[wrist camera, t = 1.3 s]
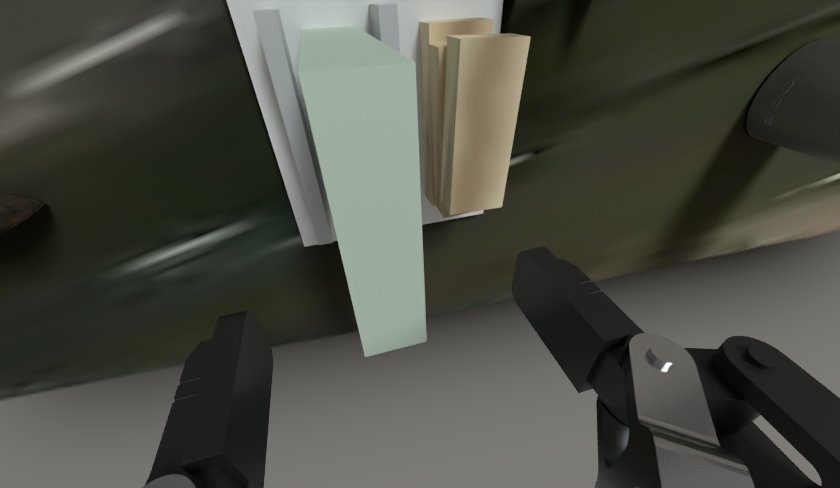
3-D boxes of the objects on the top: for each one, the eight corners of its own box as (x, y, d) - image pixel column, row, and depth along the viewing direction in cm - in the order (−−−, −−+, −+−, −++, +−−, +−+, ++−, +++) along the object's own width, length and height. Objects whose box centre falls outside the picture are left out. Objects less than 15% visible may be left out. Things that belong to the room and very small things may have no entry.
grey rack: (499, -45, 20) (534, -52, 17) (478, 208, 31) (497, 231, 28) (218, -37, 17) (199, -44, 14) (304, 240, 28) (304, 269, 25)
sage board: (354, 25, 19) (415, 62, 9) (377, 202, 27) (426, 341, 16) (301, 29, 19) (298, 73, 8) (340, 208, 26) (365, 357, 15)
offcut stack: (482, 17, 21) (532, 23, 16) (471, 186, 28) (503, 223, 24) (418, 21, 20) (451, 29, 16) (423, 194, 28) (447, 234, 23)
